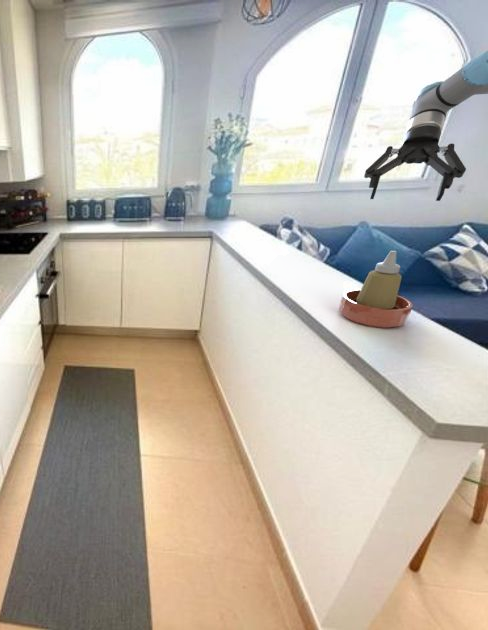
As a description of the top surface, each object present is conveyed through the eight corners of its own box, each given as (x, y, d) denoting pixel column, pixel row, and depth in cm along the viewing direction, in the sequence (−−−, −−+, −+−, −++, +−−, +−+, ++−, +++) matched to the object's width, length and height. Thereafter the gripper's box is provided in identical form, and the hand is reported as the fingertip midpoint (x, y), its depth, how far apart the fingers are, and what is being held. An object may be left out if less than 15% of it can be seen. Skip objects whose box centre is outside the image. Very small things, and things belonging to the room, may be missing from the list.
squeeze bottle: (363, 306, 100) (384, 245, 92) (396, 316, 93) (422, 252, 85) (345, 312, 97) (365, 250, 89) (378, 323, 90) (403, 257, 82)
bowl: (418, 323, 91) (426, 304, 88) (379, 334, 87) (386, 314, 85) (362, 302, 103) (368, 285, 101) (325, 311, 100) (330, 294, 97)
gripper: (481, 141, 93) (465, 207, 90) (364, 146, 108) (346, 203, 104) (494, 118, 87) (477, 188, 84) (368, 127, 102) (349, 187, 99)
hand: (404, 197), depth 94 cm, fingers open, 13 cm apart
